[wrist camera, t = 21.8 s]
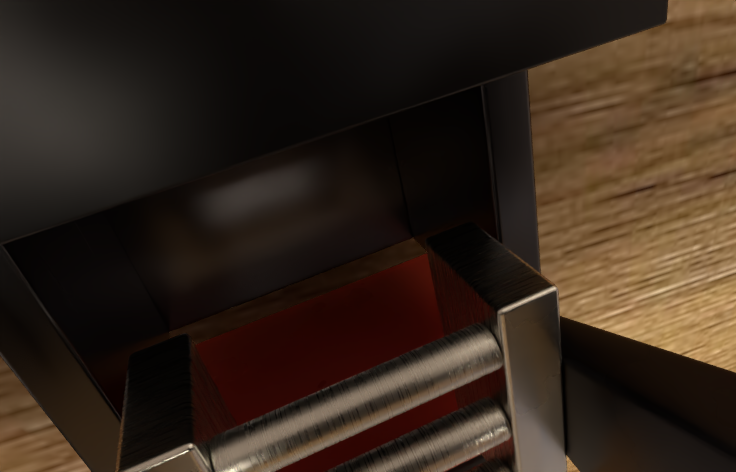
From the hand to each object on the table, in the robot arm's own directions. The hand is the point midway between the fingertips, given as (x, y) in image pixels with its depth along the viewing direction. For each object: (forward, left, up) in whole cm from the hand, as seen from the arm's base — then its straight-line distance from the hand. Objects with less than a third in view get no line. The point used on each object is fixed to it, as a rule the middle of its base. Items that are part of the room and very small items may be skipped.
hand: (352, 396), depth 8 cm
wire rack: (0, 0, 0) cm, 0 cm away
